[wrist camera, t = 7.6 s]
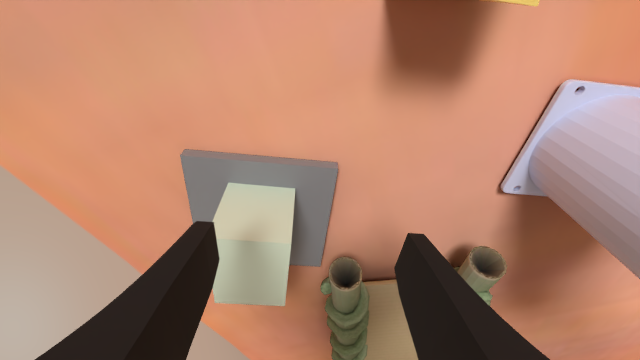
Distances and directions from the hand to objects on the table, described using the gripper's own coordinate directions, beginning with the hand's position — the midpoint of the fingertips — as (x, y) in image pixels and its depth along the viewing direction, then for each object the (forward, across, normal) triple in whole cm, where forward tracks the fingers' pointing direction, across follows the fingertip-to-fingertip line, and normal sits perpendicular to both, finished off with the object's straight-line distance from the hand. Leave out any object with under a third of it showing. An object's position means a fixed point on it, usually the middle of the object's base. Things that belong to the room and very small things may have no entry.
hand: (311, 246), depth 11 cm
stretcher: (+10, -12, +28) cm, 32 cm away
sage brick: (+8, +3, +6) cm, 11 cm away
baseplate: (+9, +3, +6) cm, 12 cm away
